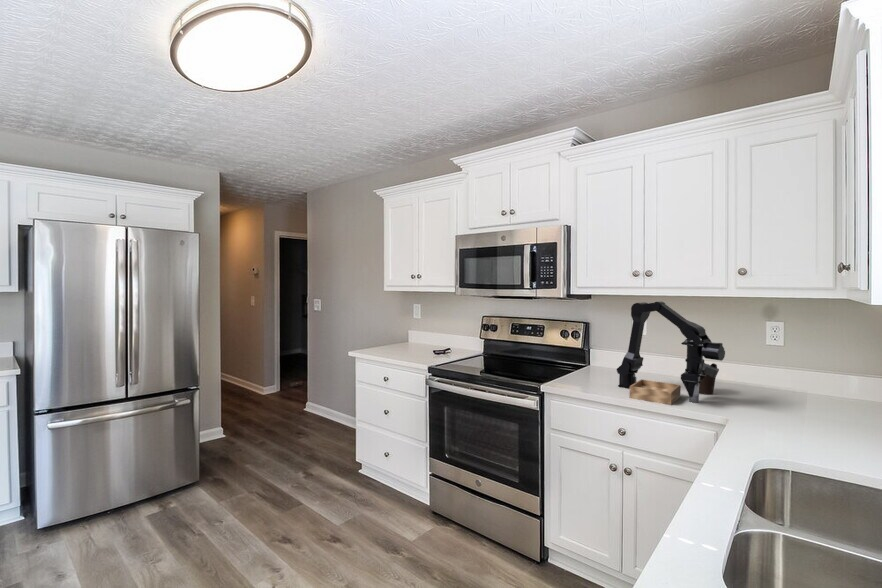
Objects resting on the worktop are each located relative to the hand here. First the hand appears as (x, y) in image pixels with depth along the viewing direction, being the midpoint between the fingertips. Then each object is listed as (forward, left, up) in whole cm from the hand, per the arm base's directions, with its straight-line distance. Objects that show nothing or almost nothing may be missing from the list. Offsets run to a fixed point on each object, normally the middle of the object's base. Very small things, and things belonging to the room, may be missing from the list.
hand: (693, 394), depth 183 cm
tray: (-14, -3, -3) cm, 15 cm away
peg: (0, 0, -3) cm, 3 cm away
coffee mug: (+1, +20, -3) cm, 20 cm away
